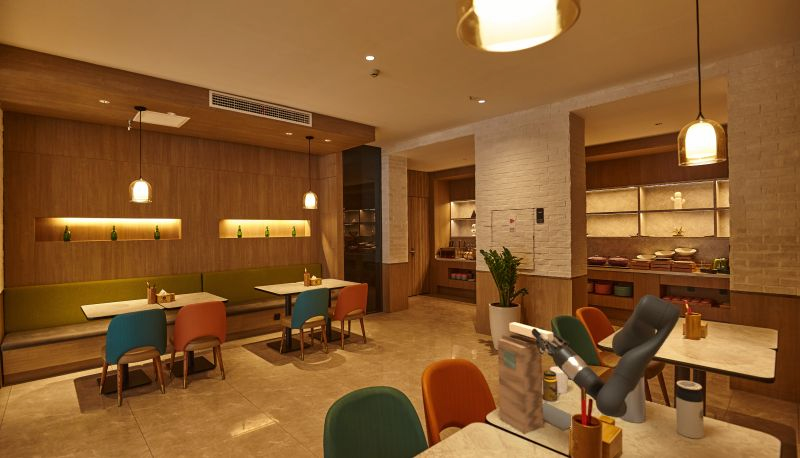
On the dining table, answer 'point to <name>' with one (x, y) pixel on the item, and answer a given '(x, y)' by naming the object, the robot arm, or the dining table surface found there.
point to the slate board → (556, 417)
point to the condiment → (550, 387)
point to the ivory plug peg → (529, 331)
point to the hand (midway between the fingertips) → (536, 329)
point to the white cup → (560, 380)
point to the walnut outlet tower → (520, 383)
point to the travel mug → (689, 409)
